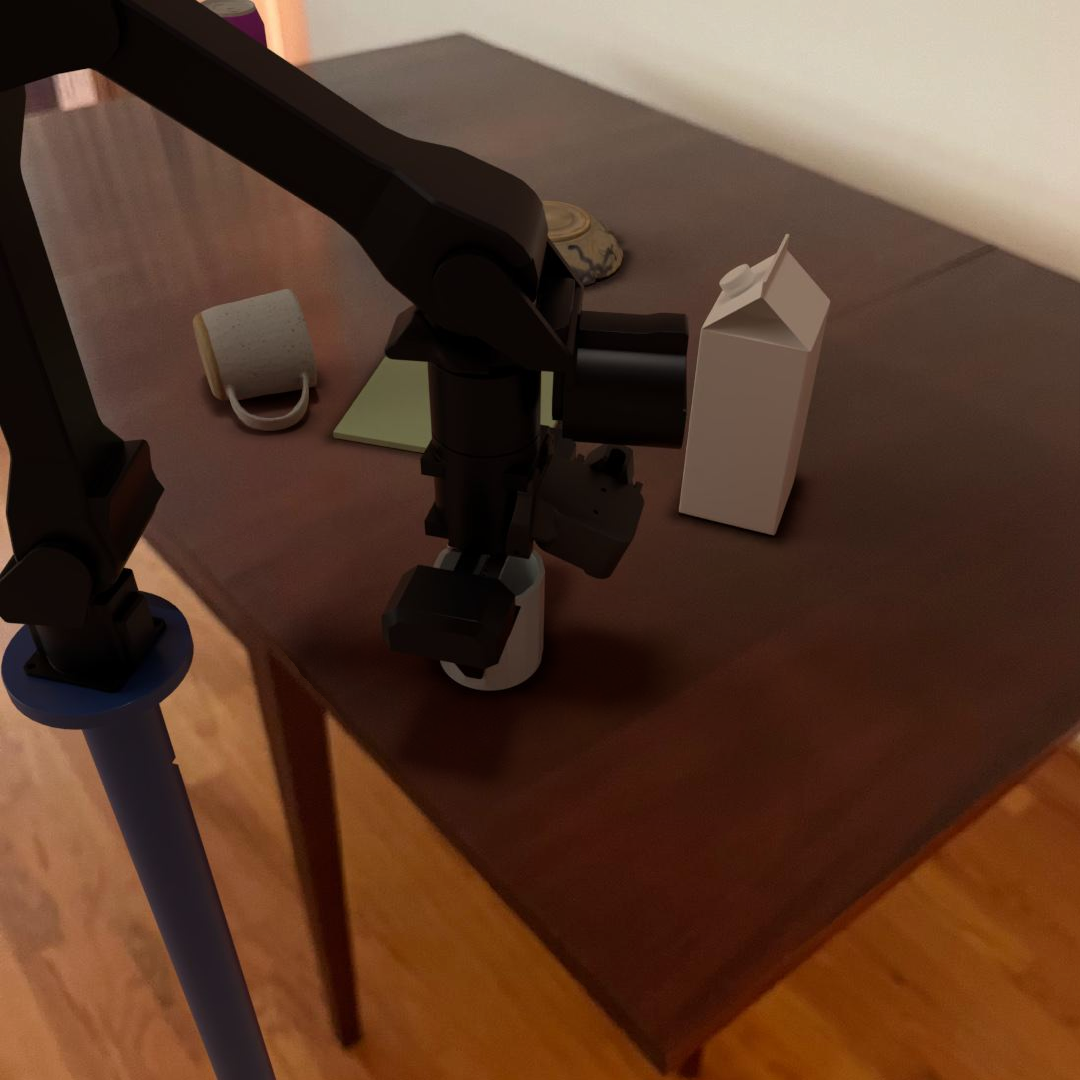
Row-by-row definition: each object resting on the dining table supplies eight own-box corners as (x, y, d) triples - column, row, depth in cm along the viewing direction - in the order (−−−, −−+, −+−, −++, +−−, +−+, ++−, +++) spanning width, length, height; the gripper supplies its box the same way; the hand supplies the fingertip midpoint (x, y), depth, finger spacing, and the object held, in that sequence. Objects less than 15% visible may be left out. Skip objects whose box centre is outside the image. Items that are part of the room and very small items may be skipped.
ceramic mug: (200, 374, 93) (182, 288, 88) (300, 355, 96) (287, 271, 91) (229, 446, 86) (211, 358, 81) (335, 423, 89) (324, 337, 84)
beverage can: (290, 112, 136) (276, 3, 128) (244, 132, 131) (227, 19, 123) (242, 98, 139) (225, -9, 131) (195, 116, 134) (175, 6, 126)
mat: (333, 438, 87) (332, 431, 87) (395, 347, 98) (395, 341, 97) (536, 472, 85) (536, 465, 85) (578, 376, 95) (578, 370, 95)
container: (425, 679, 69) (418, 594, 64) (456, 609, 74) (453, 525, 69) (527, 699, 68) (528, 615, 64) (552, 627, 73) (555, 544, 68)
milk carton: (794, 482, 86) (842, 243, 73) (774, 538, 81) (822, 292, 68) (702, 460, 87) (734, 223, 74) (677, 514, 82) (707, 270, 69)
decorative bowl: (442, 240, 113) (518, 303, 104) (441, 203, 111) (518, 265, 102) (570, 211, 120) (652, 269, 110) (572, 176, 117) (656, 232, 108)
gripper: (599, 566, 52) (584, 781, 62) (667, 359, 65) (646, 565, 76) (366, 524, 53) (390, 741, 64) (480, 331, 67) (484, 536, 77)
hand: (490, 638), depth 70 cm, fingers closed on container, 6 cm apart
